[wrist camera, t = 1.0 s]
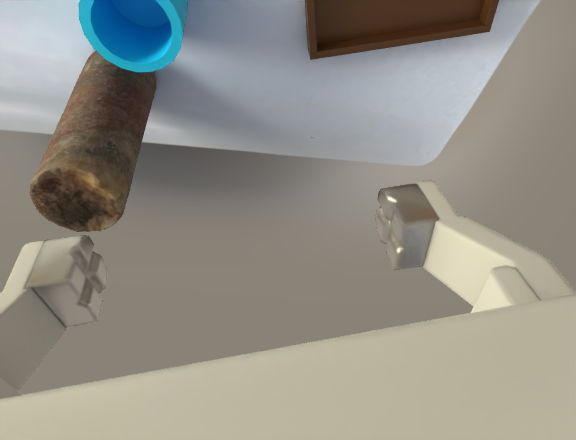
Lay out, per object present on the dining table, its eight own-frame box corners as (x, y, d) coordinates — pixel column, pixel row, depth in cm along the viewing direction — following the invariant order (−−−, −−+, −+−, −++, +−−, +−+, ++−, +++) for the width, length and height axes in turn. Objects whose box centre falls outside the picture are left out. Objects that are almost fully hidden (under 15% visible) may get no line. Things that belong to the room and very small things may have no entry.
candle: (81, 87, 45) (25, 223, 33) (88, 29, 40) (26, 163, 28) (149, 109, 48) (122, 241, 36) (164, 57, 44) (138, 190, 31)
